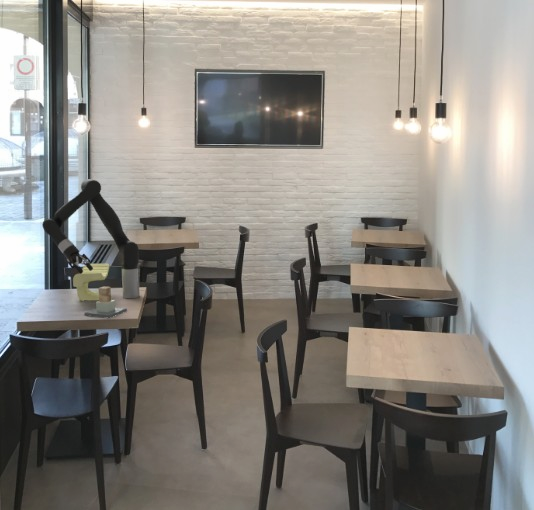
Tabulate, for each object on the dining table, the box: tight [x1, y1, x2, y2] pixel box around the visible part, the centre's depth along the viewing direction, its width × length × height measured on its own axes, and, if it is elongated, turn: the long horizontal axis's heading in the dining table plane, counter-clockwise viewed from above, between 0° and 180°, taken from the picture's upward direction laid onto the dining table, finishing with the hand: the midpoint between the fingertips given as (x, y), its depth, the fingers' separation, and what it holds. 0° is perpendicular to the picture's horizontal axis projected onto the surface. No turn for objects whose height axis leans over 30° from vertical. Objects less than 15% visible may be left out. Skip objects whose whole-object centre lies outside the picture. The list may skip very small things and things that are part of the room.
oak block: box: [98, 286, 112, 303], centre depth 384 cm, size 4×4×8 cm
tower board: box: [83, 299, 128, 319], centre depth 385 cm, size 16×16×7 cm
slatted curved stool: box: [72, 263, 110, 302], centre depth 419 cm, size 30×16×18 cm, turn 4°
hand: (87, 271), depth 386 cm, fingers open, 8 cm apart
